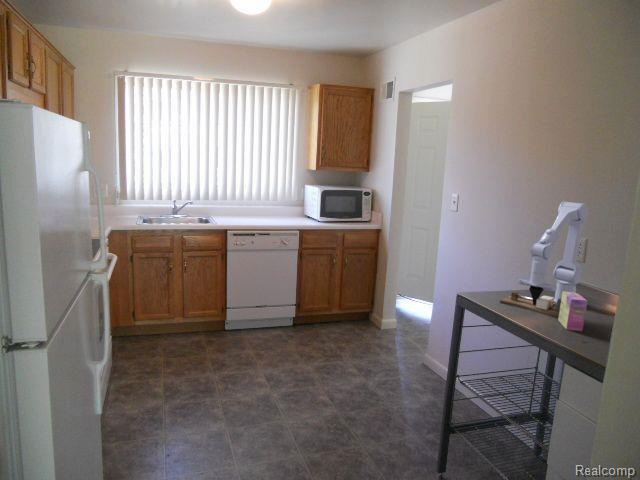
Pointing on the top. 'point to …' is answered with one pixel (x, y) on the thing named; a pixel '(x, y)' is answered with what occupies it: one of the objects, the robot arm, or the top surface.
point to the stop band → (551, 303)
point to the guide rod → (531, 299)
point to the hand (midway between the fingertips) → (534, 304)
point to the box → (572, 311)
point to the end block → (558, 304)
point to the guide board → (527, 304)
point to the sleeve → (544, 302)
